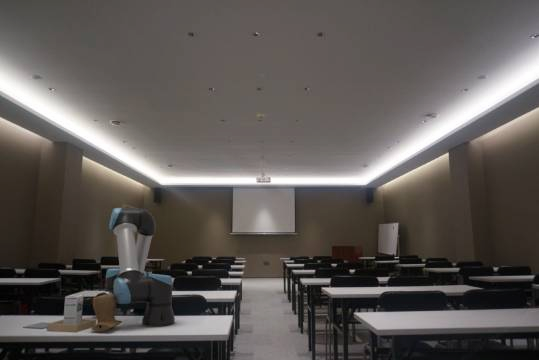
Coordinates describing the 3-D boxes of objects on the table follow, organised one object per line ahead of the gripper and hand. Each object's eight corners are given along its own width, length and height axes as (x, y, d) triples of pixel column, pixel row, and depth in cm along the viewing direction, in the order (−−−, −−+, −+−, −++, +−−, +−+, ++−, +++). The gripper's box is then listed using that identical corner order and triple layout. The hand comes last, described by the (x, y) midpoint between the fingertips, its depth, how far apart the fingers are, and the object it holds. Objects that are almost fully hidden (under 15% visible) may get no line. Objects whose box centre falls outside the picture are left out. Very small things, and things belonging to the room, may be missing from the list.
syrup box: (75, 329, 169) (77, 296, 172) (62, 329, 169) (65, 296, 172) (81, 327, 175) (84, 294, 177) (68, 327, 175) (71, 294, 177)
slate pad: (61, 323, 182) (61, 323, 182) (43, 328, 171) (43, 327, 171) (41, 323, 184) (41, 322, 184) (22, 327, 173) (22, 327, 173)
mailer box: (112, 320, 190) (112, 314, 190) (76, 332, 164) (77, 324, 165) (85, 319, 192) (86, 313, 193) (46, 330, 167) (47, 323, 168)
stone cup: (100, 326, 177) (100, 293, 179) (125, 324, 176) (124, 291, 179) (83, 334, 162) (83, 297, 164) (110, 331, 161) (110, 295, 164)
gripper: (126, 306, 203) (109, 313, 182) (80, 306, 204) (58, 313, 183) (127, 292, 205) (110, 297, 184) (81, 292, 205) (59, 297, 184)
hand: (84, 305), depth 183 cm, fingers open, 13 cm apart
